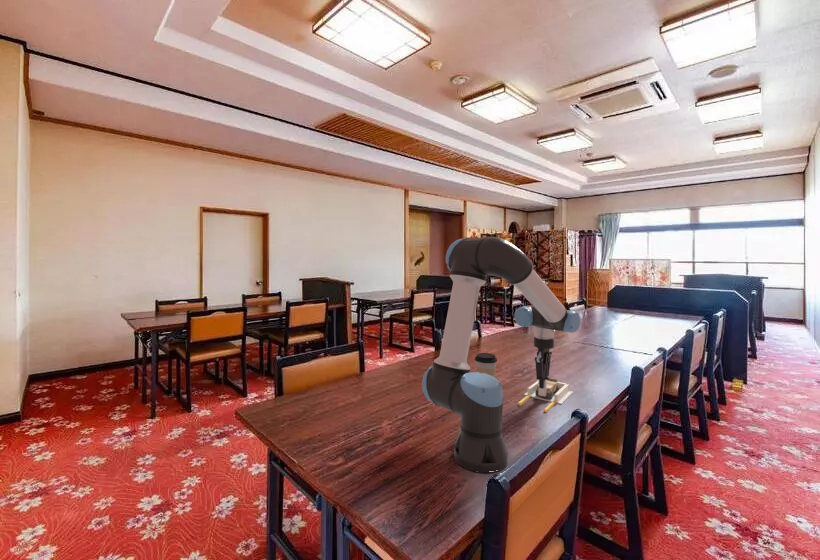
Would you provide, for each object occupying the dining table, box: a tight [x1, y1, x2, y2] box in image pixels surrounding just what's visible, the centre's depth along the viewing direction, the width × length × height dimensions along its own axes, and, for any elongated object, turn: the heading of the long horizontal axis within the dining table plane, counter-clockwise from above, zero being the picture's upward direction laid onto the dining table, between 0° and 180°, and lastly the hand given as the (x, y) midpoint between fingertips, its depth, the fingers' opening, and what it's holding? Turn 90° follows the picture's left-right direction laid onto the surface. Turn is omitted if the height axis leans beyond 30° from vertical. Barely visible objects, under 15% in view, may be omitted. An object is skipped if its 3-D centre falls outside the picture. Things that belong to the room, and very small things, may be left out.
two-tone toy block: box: [536, 377, 559, 399], centre depth 155 cm, size 11×6×6 cm, turn 141°
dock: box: [517, 379, 574, 413], centre depth 152 cm, size 27×15×3 cm, turn 142°
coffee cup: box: [474, 352, 498, 378], centre depth 161 cm, size 9×9×15 cm
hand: (542, 395), depth 150 cm, fingers closed
